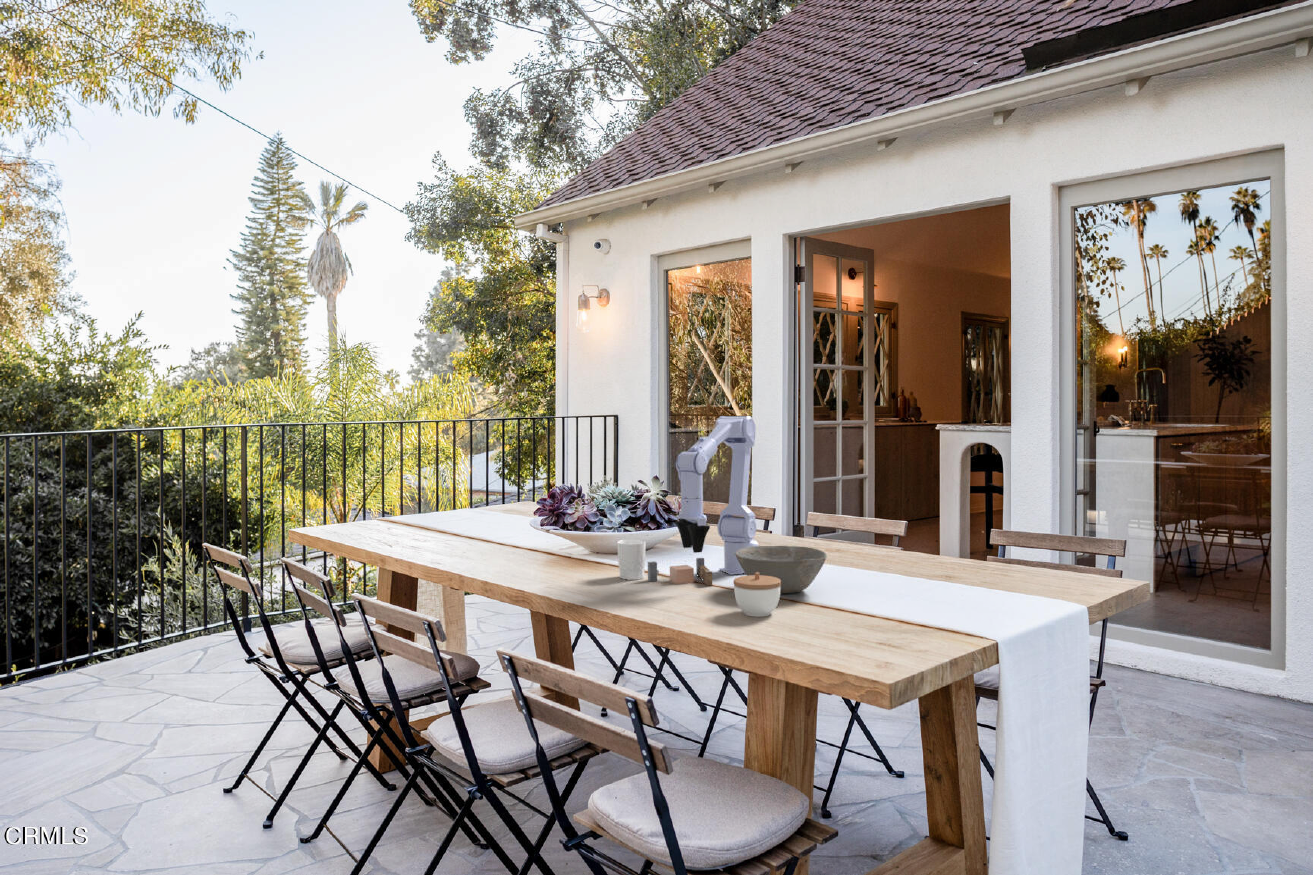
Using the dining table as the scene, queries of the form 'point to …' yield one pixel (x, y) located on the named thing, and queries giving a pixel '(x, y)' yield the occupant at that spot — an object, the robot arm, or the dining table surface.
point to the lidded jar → (757, 594)
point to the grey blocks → (654, 572)
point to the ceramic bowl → (783, 564)
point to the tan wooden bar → (706, 575)
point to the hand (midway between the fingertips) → (692, 549)
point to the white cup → (631, 559)
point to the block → (681, 574)
